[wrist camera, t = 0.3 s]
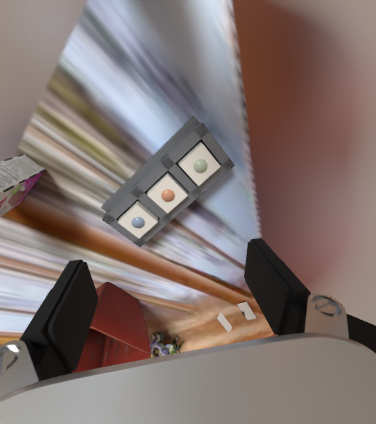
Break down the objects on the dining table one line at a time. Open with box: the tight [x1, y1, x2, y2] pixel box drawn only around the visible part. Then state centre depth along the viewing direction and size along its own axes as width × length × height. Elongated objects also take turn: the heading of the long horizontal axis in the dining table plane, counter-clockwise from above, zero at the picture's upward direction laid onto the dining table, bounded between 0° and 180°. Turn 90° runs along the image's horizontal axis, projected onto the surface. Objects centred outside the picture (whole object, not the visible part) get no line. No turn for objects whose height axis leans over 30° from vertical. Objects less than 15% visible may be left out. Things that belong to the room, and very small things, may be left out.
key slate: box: [118, 200, 158, 238], centre depth 44 cm, size 6×6×3 cm
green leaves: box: [149, 332, 183, 359], centre depth 69 cm, size 13×12×14 cm
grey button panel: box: [101, 116, 235, 247], centre depth 44 cm, size 14×29×5 cm, turn 131°
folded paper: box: [217, 302, 256, 333], centre depth 73 cm, size 12×12×2 cm
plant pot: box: [72, 282, 151, 373], centre depth 53 cm, size 19×19×17 cm
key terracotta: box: [147, 172, 188, 213], centre depth 42 cm, size 6×6×3 cm
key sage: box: [178, 142, 221, 186], centre depth 40 cm, size 6×6×3 cm
